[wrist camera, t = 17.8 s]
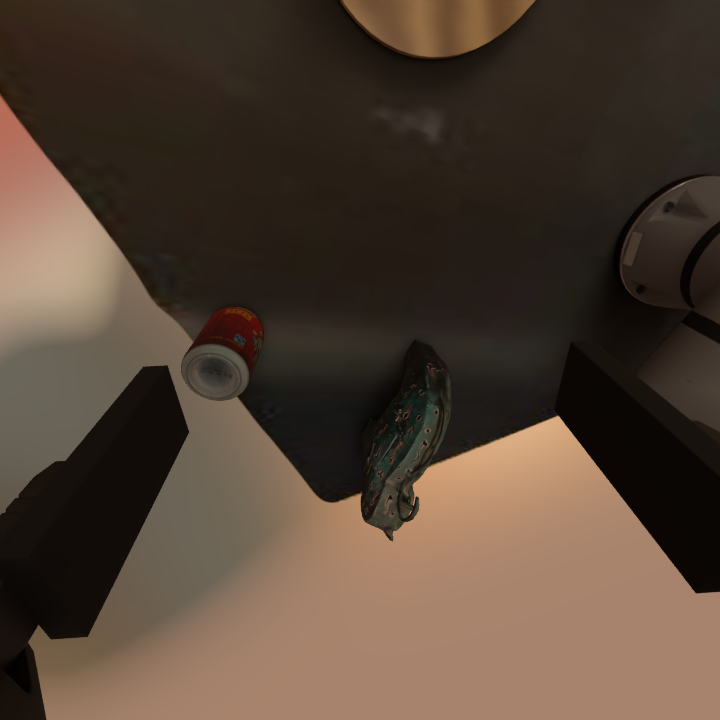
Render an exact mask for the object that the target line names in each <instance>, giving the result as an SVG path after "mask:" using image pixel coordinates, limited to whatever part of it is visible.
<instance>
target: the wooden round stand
mask: <svg viewBox="0 0 720 720" xmlns="http://www.w3.org/2000/svg"><path fill="white" fill-rule="evenodd" d="M534 1H535V0H340V2H341V3H342V5H343V7H344V8H345V10H346V11H347V12H348V13H349V15H350V16H351V17H352V18H353V20H354V21H355V22H356V23H357V24H358V25H359V26H360V27H361V28H362V29H363V30H364V31H365V32H366V33H367V34H368V35H369V36H371V37H372V38H373V39H375V40H376V41H378V42H379V43H380V44H382V45H383V46H385V47H387V48H389V49H391V50H393V51H395V52H397V53H400V54H403V55H406V56H410V57H414V58H421V59H445V58H451V57H456V56H459V55H462V54H465V53H468V52H471V51H473V50H475V49H477V48H479V47H481V46H483V45H485V44H487V43H489V42H490V41H492V40H493V39H495V38H496V37H498V36H499V35H500V34H502V33H503V32H505V31H506V30H507V29H508V28H509V27H510V26H512V25H513V24H514V23H515V22H516V21H517V20H518V19H519V18H520V17H521V16H522V15H523V14H524V13H525V12H526V11H527V9H528V8H529V7H530V6H531V5H532V4H533V3H534Z"/></svg>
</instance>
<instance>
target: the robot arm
mask: <svg viewBox="0 0 720 720" xmlns="http://www.w3.org/2000/svg"><path fill="white" fill-rule="evenodd" d="M615 273H616V276H617V279H618V281H619V284H620V285H621V287H622V288H623V289H624V290H625V291H626V292H627V293H628V294H629V295H631V296H633V297H634V298H636V299H638V300H640V301H642V302H644V303H647V304H650V305H654V306H659V307H668V308H678V309H688V310H692V311H691V312H690V313H689V314H688V315H687V316H686V317H685V318H684V319H683V321H681V322H680V323H679V324H678V326H677V327H676V328H675V329H674V330H673V331H672V332H671V333H670V334H669V335H668V336H667V337H666V338H665V339H664V341H663V342H662V343H661V344H660V345H659V346H658V347H657V348H656V349H655V350H654V351H653V352H652V353H651V354H650V356H649V357H648V358H647V359H646V360H645V361H644V362H643V363H642V364H641V365H640V366H639V367H638V368H637V369H636V371H635V372H634V373H633V372H631V371H630V370H629V369H628V368H627V367H625V366H624V365H623V364H622V363H620V362H619V361H618V360H617V359H616V358H614V357H613V356H612V355H611V354H610V353H608V352H607V351H606V350H605V349H603V348H602V347H601V346H600V345H599V344H597V343H596V342H595V341H581V342H571V344H570V348H569V352H568V356H567V360H566V364H565V368H564V372H563V376H562V380H561V384H560V388H559V392H558V396H557V400H556V404H555V408H554V410H555V412H556V413H557V414H558V416H559V417H560V418H561V419H562V420H563V422H564V423H565V425H566V426H567V427H568V428H569V430H570V431H571V432H572V434H573V435H574V436H575V437H576V439H577V440H578V441H579V443H580V444H581V445H582V446H583V448H584V449H585V450H586V452H587V453H588V454H589V455H590V457H591V458H592V459H593V461H594V462H595V463H596V465H597V466H598V467H599V468H600V470H601V471H602V472H603V474H604V475H605V476H606V478H607V479H608V480H609V481H610V483H611V484H612V485H613V487H614V488H615V489H616V490H617V492H618V493H619V494H620V496H621V497H622V498H623V500H624V501H625V502H626V503H627V505H628V506H629V507H630V509H631V510H632V511H633V513H634V514H635V515H636V516H637V518H638V519H639V520H640V522H641V523H642V524H643V525H644V527H645V528H646V529H647V530H648V532H649V533H650V534H651V536H652V537H653V538H654V539H655V541H656V542H657V543H658V545H659V546H660V547H661V549H662V550H663V551H664V553H665V554H666V555H667V556H668V558H669V559H670V560H671V562H672V563H673V564H674V566H675V567H676V568H677V569H678V570H679V572H680V573H681V575H682V576H683V577H684V579H685V580H686V581H687V582H688V583H689V585H690V586H691V587H692V589H693V590H694V591H695V593H707V592H720V176H716V175H695V176H690V177H686V178H683V179H680V180H678V181H675V182H673V183H671V184H669V185H667V186H666V187H664V188H662V189H661V190H659V191H658V192H656V193H655V194H654V195H652V196H651V197H650V198H649V199H648V200H647V201H645V202H644V203H643V204H642V205H641V206H640V207H639V209H638V210H637V211H636V212H635V213H634V215H633V216H632V217H631V219H630V220H629V221H628V223H627V225H626V226H625V228H624V230H623V232H622V234H621V236H620V239H619V241H618V244H617V248H616V252H615ZM188 433H189V430H188V427H187V424H186V421H185V418H184V415H183V412H182V409H181V406H180V403H179V400H178V396H177V393H176V390H175V387H174V385H173V381H172V378H171V375H170V372H169V369H168V366H167V365H166V366H150V367H143V368H142V369H141V370H140V371H139V373H138V374H137V375H136V376H135V378H134V379H133V380H132V381H131V382H130V384H129V385H128V386H127V387H126V388H125V390H124V391H123V392H122V393H121V394H120V396H119V397H118V398H117V399H116V400H115V402H114V403H113V404H112V405H111V407H110V408H109V409H108V410H107V411H106V413H105V414H104V415H103V416H102V417H101V419H100V420H99V421H98V422H97V423H96V425H95V426H94V427H93V428H92V430H91V431H90V432H89V433H88V434H87V435H86V437H85V438H84V439H83V440H82V442H81V443H80V444H79V445H78V446H77V448H76V449H75V450H74V451H73V452H72V454H71V455H70V456H69V457H68V458H67V460H66V461H57V462H54V463H53V464H51V465H50V466H49V467H47V468H46V469H45V470H43V471H42V472H40V473H39V474H38V475H36V476H35V477H34V478H33V479H32V480H31V481H30V482H29V483H28V485H27V486H26V487H25V488H24V489H23V491H21V493H20V494H19V497H18V498H15V499H14V500H13V502H12V503H11V504H10V505H9V506H8V507H7V509H6V512H5V513H2V514H1V515H0V720H46V715H45V710H44V704H43V699H42V693H41V689H40V683H39V677H38V672H37V667H36V661H35V656H34V652H33V650H32V648H31V647H30V645H29V644H28V641H29V640H30V638H31V636H32V635H33V633H34V631H35V630H36V628H37V626H38V625H40V627H41V628H42V629H43V630H44V631H45V633H46V634H47V635H48V637H50V639H64V638H78V637H88V635H89V633H90V631H91V629H92V627H93V625H94V623H95V621H96V619H97V617H98V615H99V613H100V610H101V609H102V607H103V605H104V602H105V601H106V599H107V597H108V595H109V593H110V591H111V588H112V587H113V584H114V583H115V580H116V579H117V576H118V574H119V572H120V570H121V568H122V566H123V564H124V562H125V560H126V558H127V556H128V554H129V552H130V550H131V548H132V546H133V544H134V542H135V540H136V538H137V536H138V534H139V532H140V530H141V528H142V526H143V524H144V522H145V520H146V518H147V516H148V514H149V512H150V510H151V508H152V506H153V504H154V502H155V500H156V498H157V496H158V494H159V492H160V490H161V488H162V486H163V484H164V482H165V480H166V478H167V476H168V474H169V472H170V470H171V468H172V466H173V464H174V461H175V459H176V458H177V456H178V453H179V451H180V449H181V447H182V445H183V443H184V441H185V439H186V437H187V435H188Z"/></svg>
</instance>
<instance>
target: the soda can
mask: <svg viewBox="0 0 720 720" xmlns="http://www.w3.org/2000/svg"><path fill="white" fill-rule="evenodd" d="M263 340H264V331H263V327H262V325H261V323H260V321H259V320H258V318H257V317H256V316H255V315H254V314H253V313H252V312H250V311H249V310H247V309H244V308H241V307H228V308H223V309H221V310H219V311H217V312H216V313H214V314H213V315H212V316H211V318H210V319H209V321H208V322H207V324H206V325H205V326H204V328H203V330H202V331H201V332H200V334H199V335H198V337H197V338H196V340H195V341H194V343H193V344H192V346H191V347H190V348H189V350H188V351H187V352H186V354H185V356H184V358H183V361H182V365H181V373H182V376H183V379H184V380H185V383H186V384H187V385H188V386H189V387H190V389H191V390H192V391H193V392H195V393H196V394H198V395H200V396H201V397H204V398H207V399H210V400H217V401H223V400H229V399H232V398H234V397H236V396H238V395H240V394H241V393H242V392H243V391H244V390H245V389H246V387H247V385H248V384H249V381H250V378H251V375H252V372H253V370H254V367H255V364H256V361H257V358H258V355H259V352H260V350H261V347H262V344H263Z"/></svg>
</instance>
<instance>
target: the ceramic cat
mask: <svg viewBox="0 0 720 720" xmlns="http://www.w3.org/2000/svg"><path fill="white" fill-rule="evenodd" d="M405 363H406V367H405V375H404V379H403V382H402V385H401V388H400V391H399V393H398V394H397V396H396V397H395V398H394V399H393V400H392V401H391V403H390V404H389V406H388V408H387V409H386V411H385V412H384V413H383V414H382V416H381V417H380V418H379V420H374V419H371V418H370V419H369V421H368V424H367V426H366V428H365V430H364V431H363V434H362V445H363V459H362V462H363V469H364V486H363V491H362V495H361V512H362V517H363V519H364V521H365V522H366V523H368V524H370V525H372V526H375V527H377V528H379V529H381V530H383V531H384V533H385V534H386V536H387V537H388V538H389V540H391V541H393V531H396V530H398V529H399V528H400V527H401V526H402V524H403V523H404V522H408V521H410V520H412V519H413V518H414V517H415V516H416V514H417V512H418V510H419V498H418V497H416V499H415V504H414V506H413V501H414V492H413V487H412V485H413V483H414V482H416V481H417V480H418V479H419V478H420V477H421V476H422V475H423V473H424V471H425V470H426V469H427V467H428V465H429V463H430V462H431V460H432V458H433V456H434V454H435V453H436V451H437V449H438V448H439V446H440V444H441V442H442V440H443V438H444V436H445V432H446V429H447V426H448V423H449V418H450V414H451V406H452V382H451V376H450V374H449V371H448V368H447V366H446V364H445V363H444V362H443V361H442V360H441V359H440V357H439V356H438V355H437V354H436V352H435V351H434V350H433V348H432V347H431V346H430V345H427V344H424V343H421V342H419V341H417V340H414V342H413V343H412V344H411V346H410V347H409V349H408V351H407V353H406V356H405ZM411 511H412V512H411ZM410 512H411V514H410V515H409V513H410ZM408 515H409V516H408Z"/></svg>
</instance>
